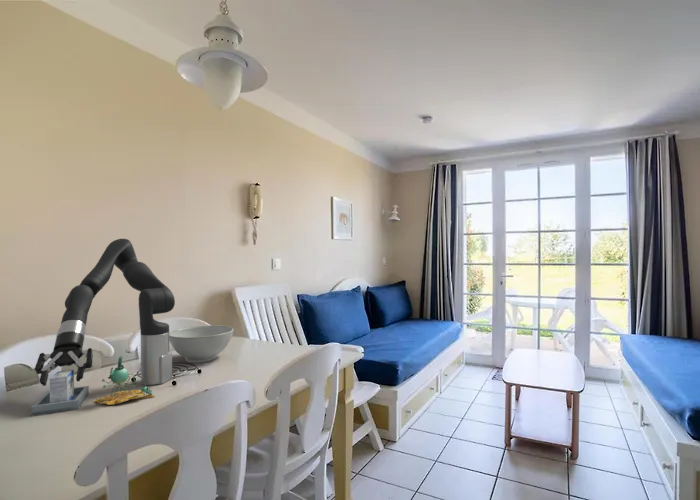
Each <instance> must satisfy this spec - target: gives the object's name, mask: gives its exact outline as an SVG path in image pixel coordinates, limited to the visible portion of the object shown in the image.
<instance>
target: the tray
mask: <svg viewBox="0 0 700 500" xmlns="http://www.w3.org/2000/svg"><path fill="white" fill-rule="evenodd" d="M89 394H90V386H89V385H85V386H78V387H74V397H73V398H72V400H70V401H63V402H55V403H50V390H47V391H46V392H45V393H44V394H43V395H41V397H40V398H39V399H38V400H37V401H36V402H35V403H33V405H32V406H31V416H32V417H33V416H39V415H45V414H52V413H59V412H66V411H72V410H79V409H80V407H81V405H82V404H83V403H84V401H85V400H86V398H87V397H88V396H89Z"/></svg>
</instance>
